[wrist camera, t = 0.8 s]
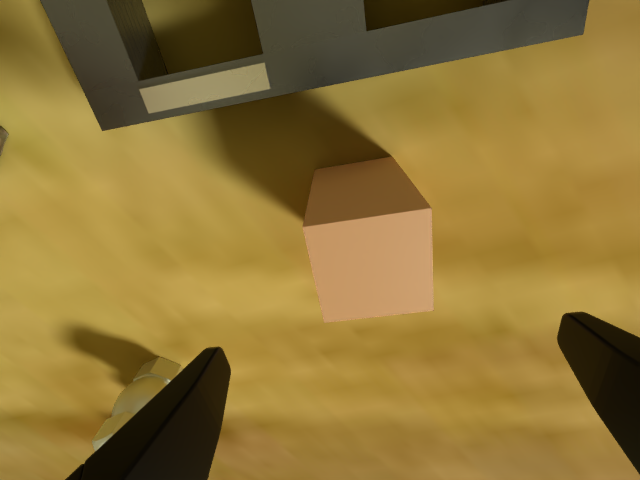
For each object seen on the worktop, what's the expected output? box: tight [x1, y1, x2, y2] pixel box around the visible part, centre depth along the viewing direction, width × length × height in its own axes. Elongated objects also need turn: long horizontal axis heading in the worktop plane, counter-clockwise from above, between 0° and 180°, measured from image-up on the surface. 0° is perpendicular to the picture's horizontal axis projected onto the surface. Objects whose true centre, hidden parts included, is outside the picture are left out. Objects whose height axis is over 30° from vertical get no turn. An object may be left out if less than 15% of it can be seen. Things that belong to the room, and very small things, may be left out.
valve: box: [92, 357, 209, 477], centre depth 26 cm, size 7×7×12 cm
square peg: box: [303, 157, 434, 323], centre depth 15 cm, size 4×4×8 cm
